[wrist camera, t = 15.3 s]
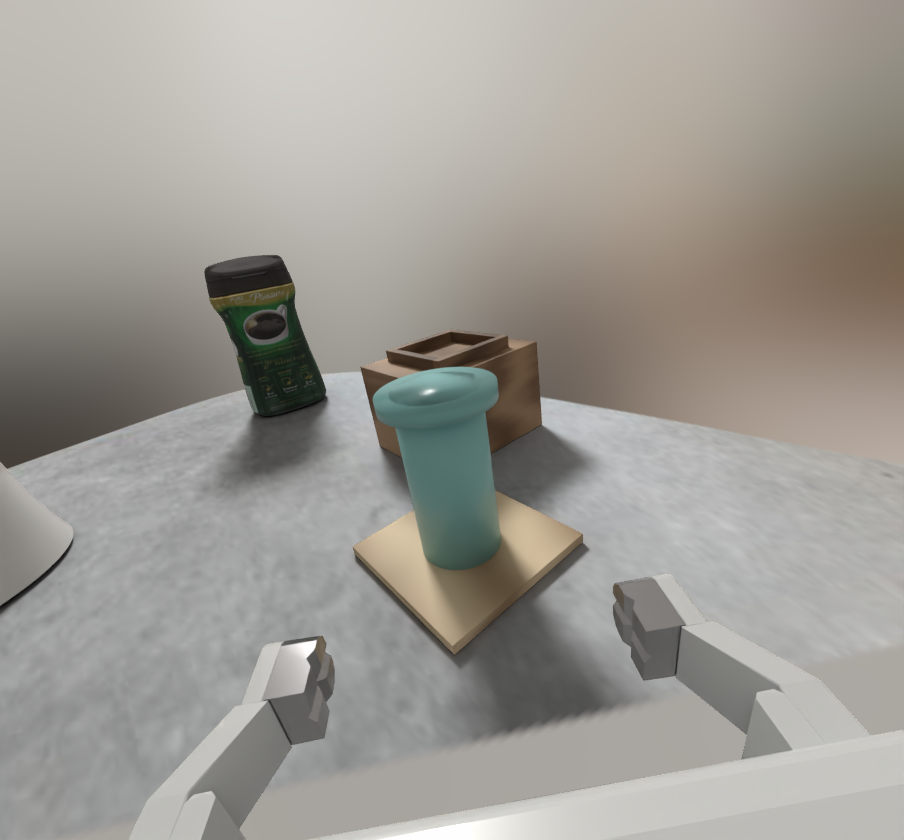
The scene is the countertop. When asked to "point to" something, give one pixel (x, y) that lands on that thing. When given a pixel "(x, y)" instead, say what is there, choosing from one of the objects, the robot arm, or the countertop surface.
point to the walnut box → (468, 349)
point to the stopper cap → (447, 460)
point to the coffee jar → (265, 332)
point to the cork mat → (468, 570)
